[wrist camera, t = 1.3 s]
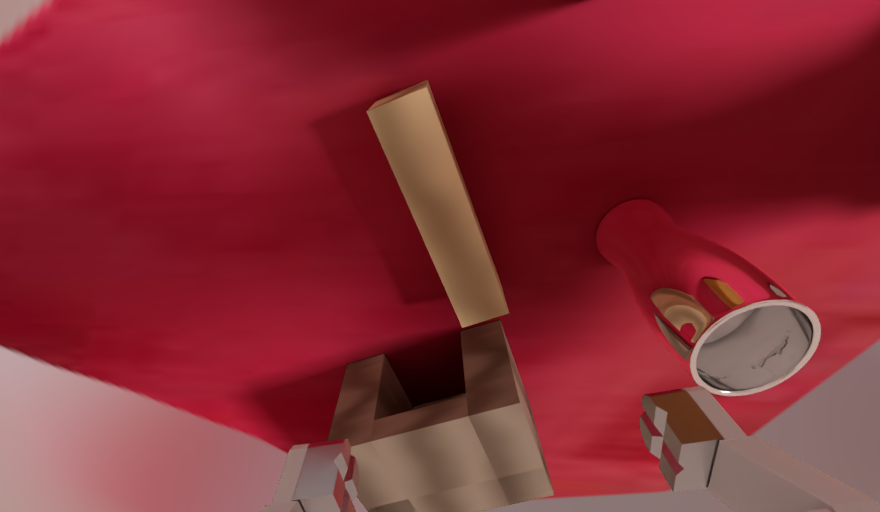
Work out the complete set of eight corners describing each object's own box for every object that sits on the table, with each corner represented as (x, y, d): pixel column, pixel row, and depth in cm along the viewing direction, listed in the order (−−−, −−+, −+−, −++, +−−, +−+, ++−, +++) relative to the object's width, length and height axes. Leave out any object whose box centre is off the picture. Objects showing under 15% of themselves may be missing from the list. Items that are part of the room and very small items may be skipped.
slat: (427, 79, 29) (426, 86, 24) (499, 280, 37) (509, 313, 33) (376, 100, 30) (366, 111, 25) (458, 293, 38) (462, 327, 33)
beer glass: (573, 232, 34) (662, 353, 21) (645, 175, 32) (793, 271, 19) (619, 281, 37) (723, 417, 24) (688, 231, 35) (847, 351, 21)
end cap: (499, 319, 39) (520, 402, 30) (529, 403, 44) (554, 494, 35) (347, 364, 41) (324, 453, 32) (393, 438, 46) (384, 532, 38)
